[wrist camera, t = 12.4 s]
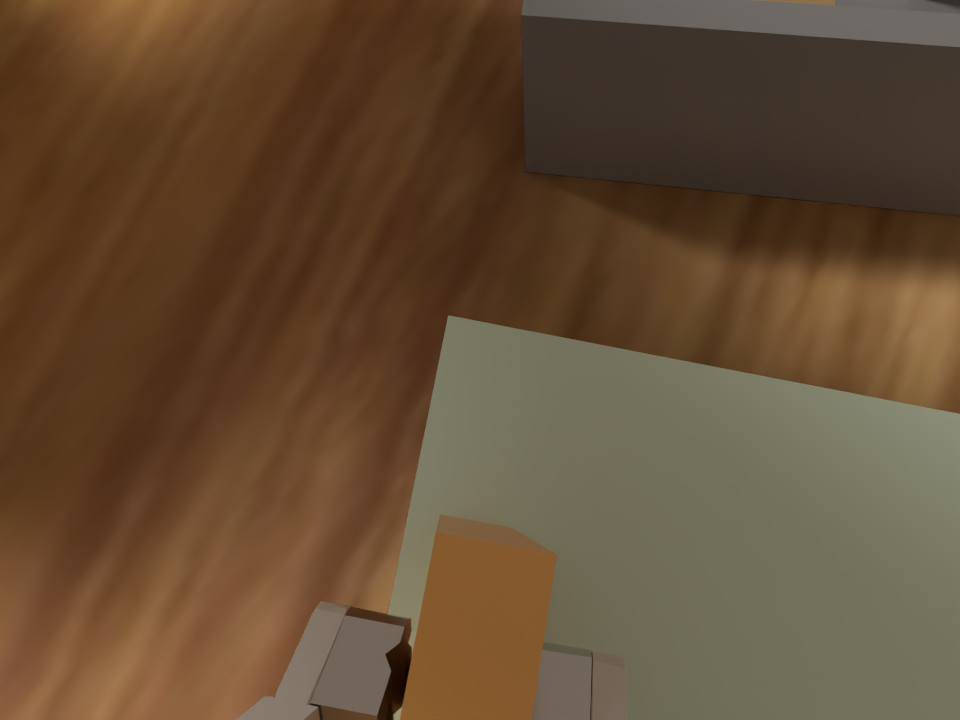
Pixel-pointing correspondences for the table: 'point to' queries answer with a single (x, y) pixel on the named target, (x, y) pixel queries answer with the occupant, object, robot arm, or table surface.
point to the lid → (677, 538)
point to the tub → (749, 97)
